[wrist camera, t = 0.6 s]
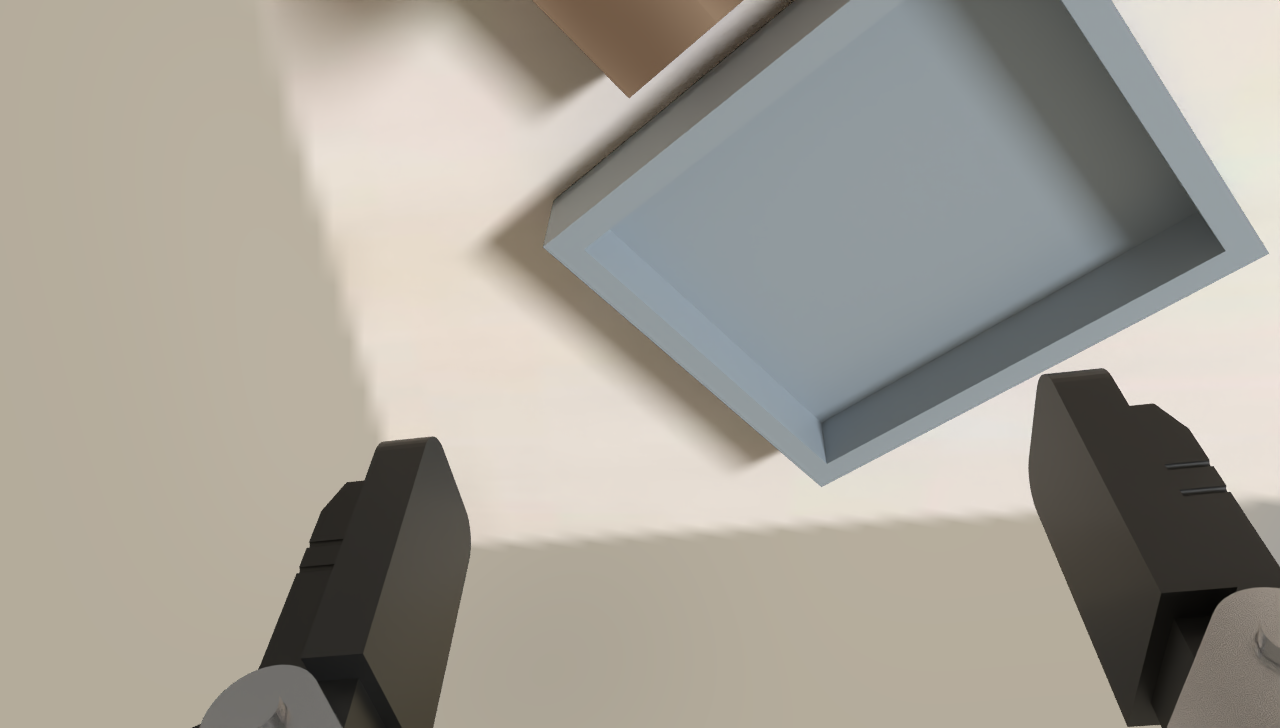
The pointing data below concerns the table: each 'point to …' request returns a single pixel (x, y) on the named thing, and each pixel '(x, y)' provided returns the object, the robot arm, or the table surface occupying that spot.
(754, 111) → the slate tray
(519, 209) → the table surface
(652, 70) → the wooden square hole block
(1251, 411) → the table surface
